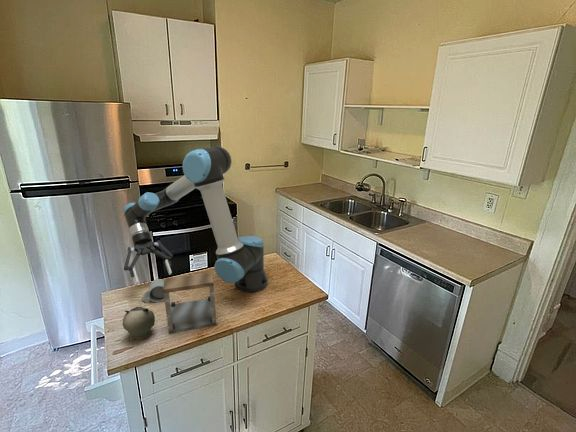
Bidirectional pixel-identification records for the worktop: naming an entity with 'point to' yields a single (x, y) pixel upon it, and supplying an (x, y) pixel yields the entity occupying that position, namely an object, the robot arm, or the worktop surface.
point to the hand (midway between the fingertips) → (154, 278)
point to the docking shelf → (190, 304)
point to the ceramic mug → (155, 291)
